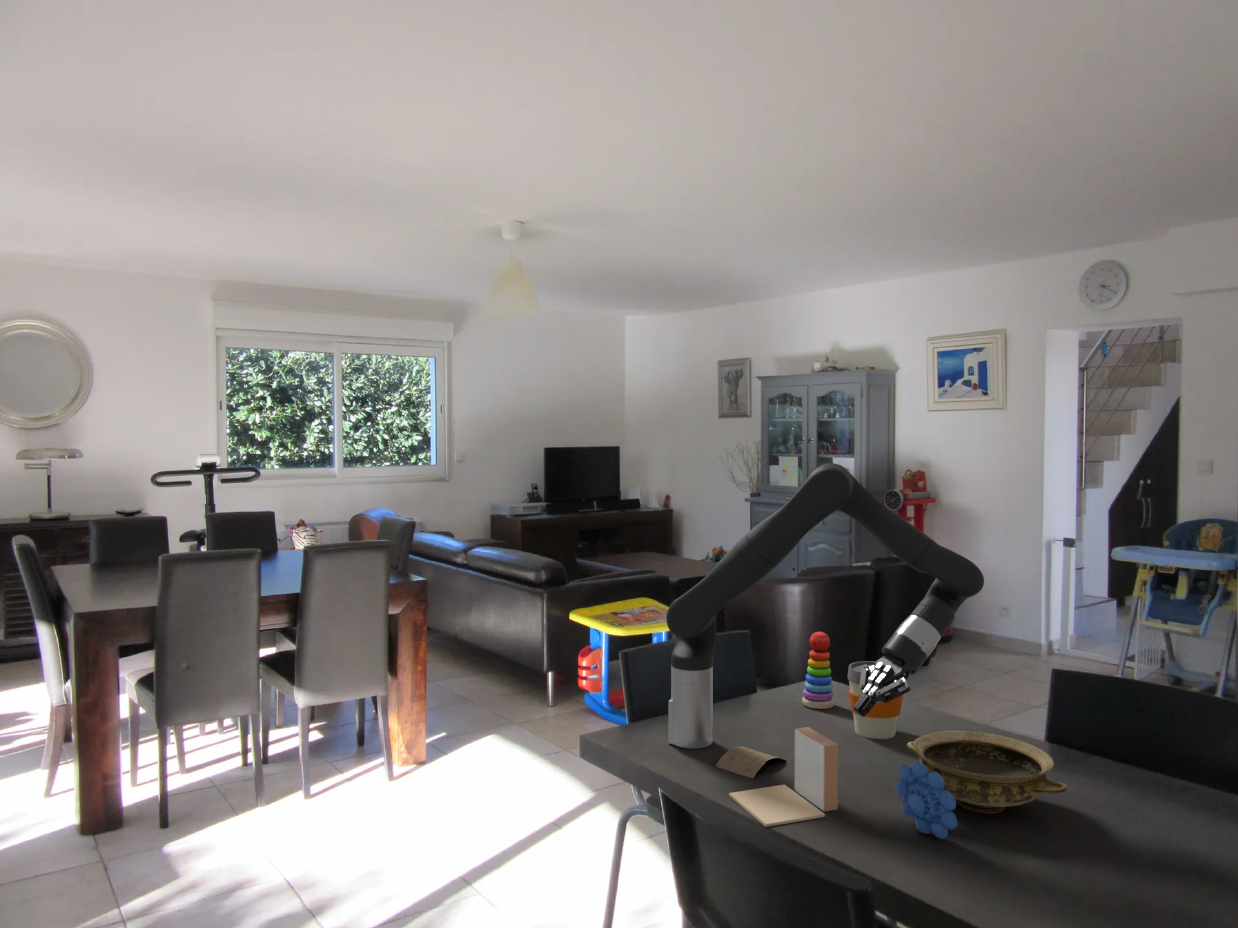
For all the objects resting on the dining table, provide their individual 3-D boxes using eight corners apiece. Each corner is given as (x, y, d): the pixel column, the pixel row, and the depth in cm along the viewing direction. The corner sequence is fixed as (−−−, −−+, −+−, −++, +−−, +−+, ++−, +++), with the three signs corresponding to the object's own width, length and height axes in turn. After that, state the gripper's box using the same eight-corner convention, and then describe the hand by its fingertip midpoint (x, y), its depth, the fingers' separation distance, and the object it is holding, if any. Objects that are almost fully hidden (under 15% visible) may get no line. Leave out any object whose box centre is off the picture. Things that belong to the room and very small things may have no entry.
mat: (784, 786, 166) (784, 784, 166) (824, 816, 153) (824, 813, 153) (729, 795, 162) (729, 792, 162) (765, 826, 149) (765, 824, 149)
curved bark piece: (752, 782, 169) (752, 769, 169) (710, 770, 176) (710, 757, 176) (789, 762, 180) (790, 749, 180) (749, 751, 187) (749, 738, 187)
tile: (807, 788, 165) (808, 726, 165) (837, 809, 156) (838, 744, 156) (794, 790, 164) (794, 728, 164) (823, 811, 155) (823, 746, 155)
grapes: (880, 828, 148) (881, 759, 148) (903, 817, 152) (904, 751, 152) (941, 853, 139) (942, 781, 139) (964, 842, 143) (965, 771, 143)
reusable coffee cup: (858, 719, 206) (858, 658, 206) (910, 730, 199) (911, 666, 198) (838, 734, 196) (839, 669, 195) (893, 745, 188) (894, 678, 188)
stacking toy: (828, 711, 212) (829, 637, 212) (797, 706, 216) (798, 633, 216) (838, 703, 219) (838, 630, 218) (807, 698, 223) (808, 627, 222)
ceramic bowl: (1094, 814, 154) (1095, 759, 153) (1030, 854, 139) (1031, 793, 139) (941, 764, 177) (941, 717, 177) (872, 794, 162) (873, 742, 162)
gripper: (879, 624, 172) (826, 691, 168) (923, 638, 160) (867, 710, 156) (900, 648, 174) (849, 714, 170) (945, 664, 162) (891, 736, 158)
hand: (858, 712), depth 163 cm, fingers closed
